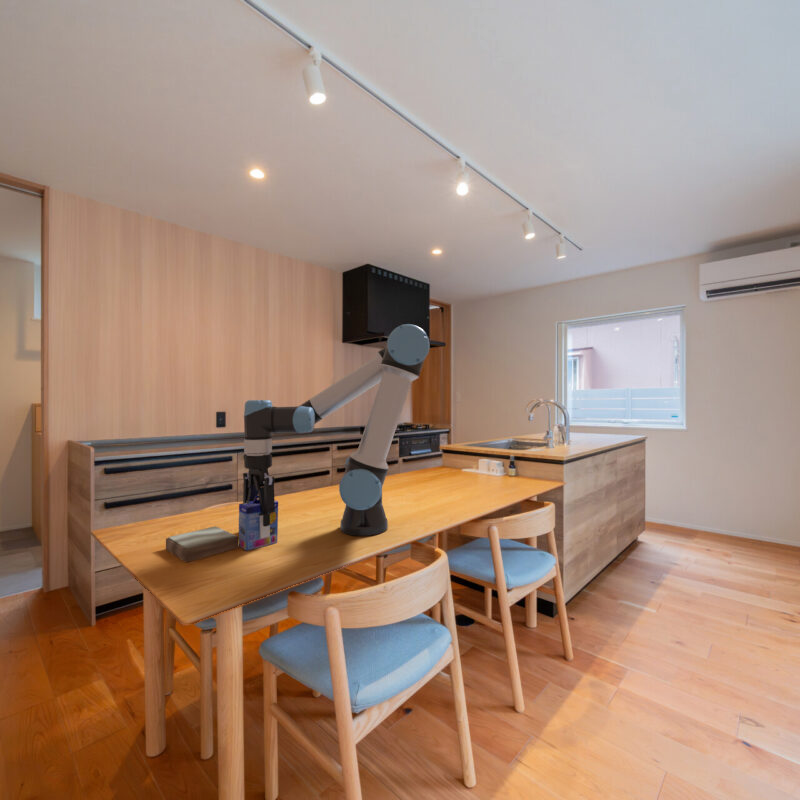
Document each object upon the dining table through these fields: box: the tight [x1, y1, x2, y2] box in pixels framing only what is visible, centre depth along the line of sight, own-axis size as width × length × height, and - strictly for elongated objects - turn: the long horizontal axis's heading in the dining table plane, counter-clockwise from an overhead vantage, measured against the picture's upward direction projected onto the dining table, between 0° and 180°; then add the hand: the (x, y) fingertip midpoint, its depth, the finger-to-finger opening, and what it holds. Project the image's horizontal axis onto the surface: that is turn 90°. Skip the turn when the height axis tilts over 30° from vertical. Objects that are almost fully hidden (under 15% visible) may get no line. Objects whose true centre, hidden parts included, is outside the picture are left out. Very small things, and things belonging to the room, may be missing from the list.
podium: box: [165, 525, 240, 563], centre depth 114 cm, size 14×14×3 cm
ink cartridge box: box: [238, 495, 279, 552], centre depth 117 cm, size 10×6×14 cm, turn 136°
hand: (258, 534), depth 117 cm, fingers open, 6 cm apart
